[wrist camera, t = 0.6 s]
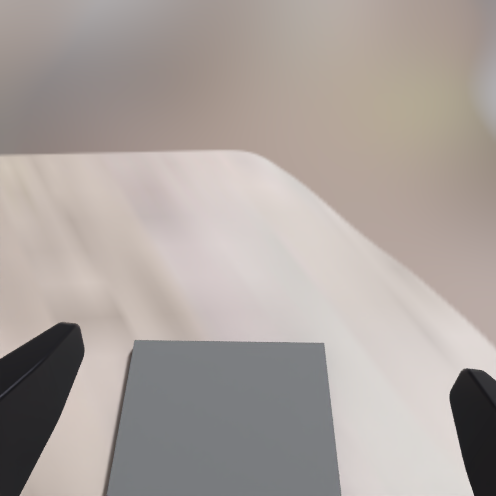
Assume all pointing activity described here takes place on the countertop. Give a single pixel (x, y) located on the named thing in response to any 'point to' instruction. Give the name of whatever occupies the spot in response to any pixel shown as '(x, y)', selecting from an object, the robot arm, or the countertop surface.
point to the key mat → (226, 421)
